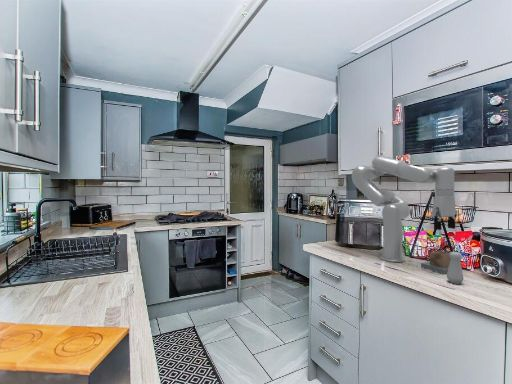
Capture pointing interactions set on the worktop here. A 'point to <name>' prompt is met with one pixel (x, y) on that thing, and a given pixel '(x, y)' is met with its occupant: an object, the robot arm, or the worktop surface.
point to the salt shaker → (455, 268)
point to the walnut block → (440, 259)
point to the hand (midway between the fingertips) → (444, 228)
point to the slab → (435, 268)
